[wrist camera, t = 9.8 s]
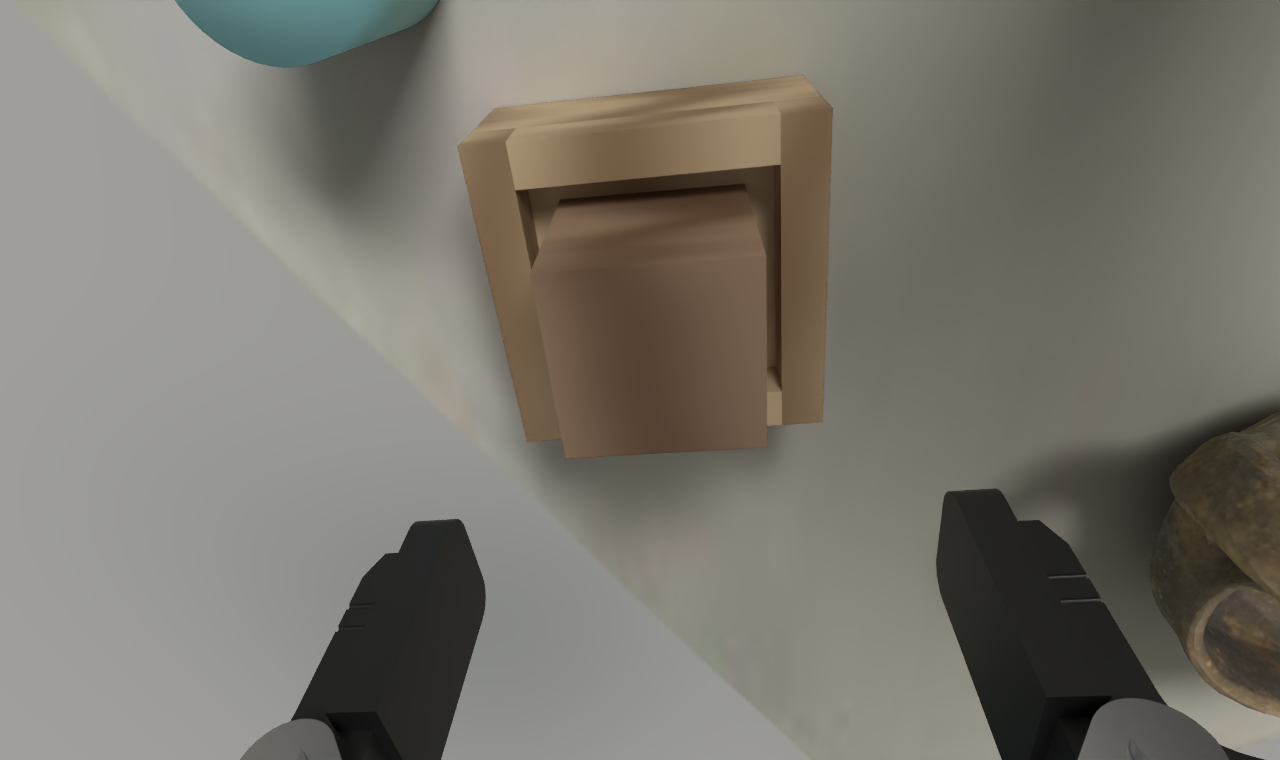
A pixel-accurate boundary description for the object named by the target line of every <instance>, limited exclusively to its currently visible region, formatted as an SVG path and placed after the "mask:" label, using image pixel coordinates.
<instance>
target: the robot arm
mask: <svg viewBox="0 0 1280 760" xmlns="http://www.w3.org/2000/svg"><path fill="white" fill-rule="evenodd" d="M936 568H937V578H938V584H939V589H940V593H941V596H942V599H943V602H944V605H945V608H946V610H947V613H948V616H949V618H950V621H951V624H952V626H953V629H954V632H955V635H956V637H957V640H958V643H959V645H960V648H961V651H962V653H963V656H964V659H965V662H966V664H967V667H968V670H969V672H970V675H971V678H972V680H973V683H974V686H975V689H976V691H977V694H978V697H979V699H980V702H981V705H982V707H983V710H984V713H985V716H986V718H987V721H988V724H989V726H990V729H991V732H992V734H993V737H994V740H995V743H996V745H997V748H998V751H999V753H1000V756H1001V759H1002V760H1264V759H1260V758H1256V757H1252V756H1249V755H1245V754H1242V753H1239V752H1236V751H1234V750H1231V749H1229V748H1226V747H1224V746H1222V745H1220V744H1219V743H1218V742H1217V741H1216V739H1215V738H1214V737H1213V736H1212V735H1211V734H1210V733H1209V732H1208V731H1207V730H1206V729H1204V728H1203V727H1202V726H1201V725H1199V724H1198V723H1197V722H1196V721H1194V720H1193V719H1191V718H1189V717H1188V716H1186V715H1185V714H1183V713H1181V712H1179V711H1177V710H1175V709H1173V708H1171V707H1169V706H1168V705H1167V704H1166V703H1165V702H1164V700H1163V699H1162V698H1161V696H1160V695H1159V693H1158V692H1157V690H1156V688H1155V687H1154V685H1153V683H1152V682H1151V680H1150V678H1149V677H1148V675H1147V673H1146V672H1145V670H1144V668H1143V667H1142V665H1141V663H1140V662H1139V660H1138V659H1137V657H1136V655H1135V654H1134V652H1133V650H1132V649H1131V647H1130V645H1129V644H1128V642H1127V640H1126V639H1125V637H1124V635H1123V634H1122V632H1121V630H1120V629H1119V627H1118V625H1117V624H1116V622H1115V620H1114V619H1113V617H1112V615H1111V614H1110V612H1109V611H1108V609H1107V607H1106V606H1105V604H1104V603H1101V601H1100V596H1099V594H1098V592H1097V591H1096V589H1095V587H1094V586H1093V584H1092V582H1091V581H1090V579H1087V578H1086V572H1085V571H1084V569H1083V567H1082V566H1081V564H1080V562H1079V561H1078V559H1077V558H1076V556H1075V554H1074V553H1073V551H1072V549H1071V548H1070V546H1069V544H1068V543H1066V542H1065V541H1064V540H1063V539H1062V538H1060V537H1059V536H1058V535H1057V534H1055V533H1054V532H1053V531H1052V530H1051V529H1049V528H1048V527H1047V526H1046V525H1044V524H1043V523H1042V522H1041V521H1040V520H1032V521H1017V519H1016V517H1015V515H1014V513H1013V512H1012V510H1011V508H1010V506H1009V504H1008V502H1007V501H1006V499H1005V497H1004V495H1003V494H1002V493H1001V491H1000V490H998V489H981V490H964V491H949V492H947V493H946V494H945V496H944V501H943V509H942V517H941V525H940V533H939V542H938V550H937V559H936ZM485 598H486V597H485V584H484V580H483V576H482V574H481V571H480V568H479V565H478V563H477V560H476V557H475V554H474V552H473V549H472V546H471V543H470V540H469V538H468V535H467V532H466V529H465V527H464V524H463V523H462V522H461V521H460V520H459V519H450V520H434V521H417V522H415V523H413V525H412V526H411V527H410V529H409V531H408V533H407V535H406V538H405V540H404V542H403V544H402V546H401V549H400V550H399V553H390V554H385V555H384V556H383V557H382V558H381V559H380V560H379V561H378V562H377V563H376V564H375V565H374V566H373V567H372V568H371V569H370V570H369V571H368V572H367V573H366V574H365V575H364V577H363V578H362V580H361V582H360V584H359V586H358V588H357V590H356V592H355V594H354V596H353V598H352V600H351V602H350V608H349V609H348V610H346V612H345V614H344V616H343V618H342V620H341V622H340V624H339V630H338V632H335V634H334V636H333V638H332V640H331V642H330V644H329V646H328V648H327V650H326V652H325V654H324V656H323V658H322V660H321V662H320V664H319V666H318V668H317V670H316V672H315V674H314V676H313V678H312V680H311V682H310V684H309V686H308V688H307V690H306V692H305V694H304V696H303V698H302V700H301V702H300V704H299V706H298V708H297V710H296V712H295V714H294V716H293V718H292V719H291V721H290V722H287V723H285V724H282V725H280V726H278V727H276V728H274V729H272V730H271V731H269V732H268V733H266V734H265V735H264V736H262V737H261V738H260V739H258V740H257V741H256V742H255V743H254V744H253V745H252V746H251V747H250V748H249V749H248V750H247V752H246V753H245V754H244V755H243V757H242V758H241V759H240V760H441V757H442V754H443V751H444V747H445V744H446V740H447V737H448V734H449V730H450V727H451V724H452V720H453V717H454V713H455V710H456V707H457V703H458V700H459V697H460V693H461V690H462V686H463V683H464V679H465V676H466V673H467V669H468V666H469V663H470V659H471V656H472V653H473V649H474V646H475V643H476V639H477V635H478V632H479V629H480V626H481V622H482V619H483V615H484V610H485Z"/></svg>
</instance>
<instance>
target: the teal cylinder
mask: <svg viewBox="0 0 1280 760" xmlns="http://www.w3.org/2000/svg"><path fill="white" fill-rule="evenodd" d="M175 1H176V2H177V4H178V5H179V7H180V8H181V9H182V10H183V11H184V12H185V14H186V15H187V16H188V17H189V18H190V19H191V20H192V21H193V22H194V23H195V24H196V25H197V26H198V27H199V28H200V29H201V30H202V31H203V32H204V33H205V34H207V35H208V36H209V37H210V38H212V39H213V40H214V41H215V42H217V43H218V44H220V45H221V46H223V47H225V48H226V49H228V50H229V51H231V52H233V53H235V54H237V55H239V56H241V57H243V58H246V59H248V60H251V61H254V62H256V63H260V64H265V65H269V66H276V67H300V66H305V65H310V64H313V63H316V62H319V61H321V60H324V59H327V58H329V57H332V56H335V55H337V54H340V53H343V52H345V51H348V50H351V49H353V48H356V47H359V46H361V45H364V44H367V43H369V42H372V41H375V40H377V39H380V38H383V37H386V36H388V35H391V34H394V33H396V32H399V31H402V30H404V29H407V28H410V27H412V26H413V25H415V24H417V23H419V22H420V21H421V20H422V19H424V18H425V17H426V16H427V15H428V14H429V13H430V12H431V11H432V10H433V8H434V7H435V5H436V4H437V2H438V1H439V0H175Z"/></svg>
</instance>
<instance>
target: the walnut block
mask: <svg viewBox="0 0 1280 760" xmlns="http://www.w3.org/2000/svg"><path fill="white" fill-rule="evenodd" d="M530 278H531V283H532V288H533V294H534V299H535V304H536V309H537V314H538V319H539V325H540V330H541V335H542V340H543V345H544V350H545V356H546V361H547V366H548V371H549V376H550V381H551V387H552V392H553V397H554V402H555V407H556V412H557V418H558V423H559V428H560V433H561V438H562V443H563V449H564V454H565V458H583V457H601V456H619V455H637V454H655V453H673V452H691V451H709V450H726V449H744V448H762V447H767V318H766V253H765V250H764V247H763V243H762V240H761V236H760V233H759V230H758V226H757V223H756V219H755V216H754V213H753V209H752V206H751V202H750V199H749V196H748V192H747V189H746V185H745V184H734V185H722V186H710V187H699V188H687V189H675V190H664V191H652V192H640V193H629V194H617V195H606V196H594V197H582V198H571V199H560V201H559V203H558V206H557V208H556V211H555V213H554V216H553V218H552V221H551V223H550V225H549V228H548V230H547V233H546V235H545V238H544V240H543V243H542V245H541V248H540V250H539V252H538V255H537V257H536V260H535V262H534V265H533V267H532V270H531V272H530Z"/></svg>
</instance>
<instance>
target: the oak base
mask: <svg viewBox="0 0 1280 760" xmlns="http://www.w3.org/2000/svg"><path fill="white" fill-rule="evenodd" d="M832 113H833V108H832V107H831V106H830V104H829V103H828V102H827V101H826V100H825V99H824V98H823V97H822V96H821V95H820V93H819V92H818V91H817V90H816V89H815V88H814V87H813V86H812V85H811V84H810V82H809V81H808V80H807V79H806V78H805V77H804V76H793V77H784V78H775V79H765V80H756V81H747V82H737V83H728V84H719V85H709V86H700V87H691V88H681V89H672V90H663V91H654V92H644V93H635V94H626V95H616V96H607V97H598V98H588V99H579V100H570V101H560V102H551V103H542V104H532V105H523V106H514V107H505V108H495V109H494V110H493V111H492V112H491V113H490V114H489V115H488V116H487V117H486V118H485V119H484V120H483V121H482V122H481V123H480V124H479V125H478V126H477V127H476V128H475V129H474V130H473V131H472V132H471V133H470V134H469V135H468V136H467V137H466V138H465V139H464V140H463V141H462V142H461V143H460V144H459V145H458V146H457V147H458V152H459V156H460V160H461V164H462V168H463V173H464V177H465V181H466V185H467V190H468V194H469V198H470V202H471V206H472V211H473V215H474V219H475V223H476V227H477V232H478V236H479V240H480V244H481V249H482V253H483V257H484V261H485V265H486V270H487V274H488V278H489V282H490V286H491V291H492V295H493V299H494V303H495V308H496V312H497V316H498V320H499V324H500V329H501V333H502V337H503V341H504V346H505V350H506V354H507V358H508V362H509V367H510V371H511V375H512V379H513V383H514V388H515V392H516V396H517V400H518V405H519V409H520V413H521V417H522V421H523V426H524V430H525V434H526V438H527V442H529V441H544V440H559V439H562V438H561V433H560V428H559V423H558V418H557V412H556V407H555V402H554V397H553V392H552V387H551V381H550V376H549V371H548V366H547V361H546V356H545V350H544V345H543V340H542V335H541V330H540V325H539V319H538V314H537V309H536V304H535V299H534V294H533V288H532V283H531V278H530V272H531V270H532V267H533V265H534V262H535V260H536V257H537V255H538V252H539V250H540V248H541V245H542V243H543V240H544V238H545V235H546V233H547V230H548V228H549V225H550V223H551V221H552V218H553V216H554V213H555V211H556V208H557V206H558V203H559V201H560V199H571V198H582V197H594V196H606V195H617V194H629V193H640V192H652V191H664V190H675V189H687V188H699V187H710V186H722V185H734V184H745V185H746V189H747V192H748V196H749V199H750V202H751V206H752V209H753V213H754V216H755V219H756V223H757V226H758V230H759V233H760V236H761V240H762V243H763V247H764V250H765V253H766V318H767V426H772V425H787V424H802V423H818V422H822V421H823V390H824V360H825V329H826V298H827V267H828V236H829V205H830V174H831V143H832Z"/></svg>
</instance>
